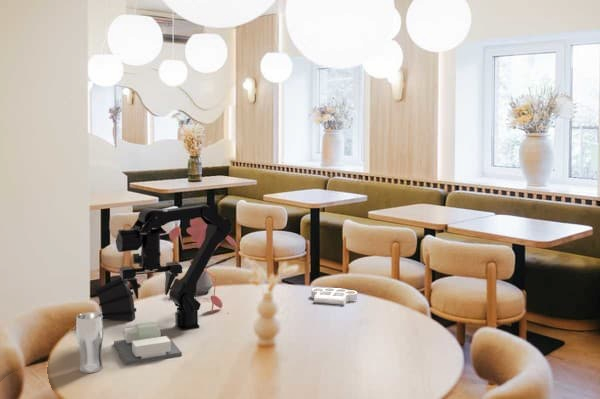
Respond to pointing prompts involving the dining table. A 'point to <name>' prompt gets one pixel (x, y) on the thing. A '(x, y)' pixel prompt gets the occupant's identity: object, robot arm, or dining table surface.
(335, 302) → the white holed tray
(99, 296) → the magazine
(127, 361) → the rail panel
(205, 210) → the robot arm
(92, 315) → the beer glass
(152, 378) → the dining table surface
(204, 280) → the coffee pot
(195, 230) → the figurine
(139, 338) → the block
